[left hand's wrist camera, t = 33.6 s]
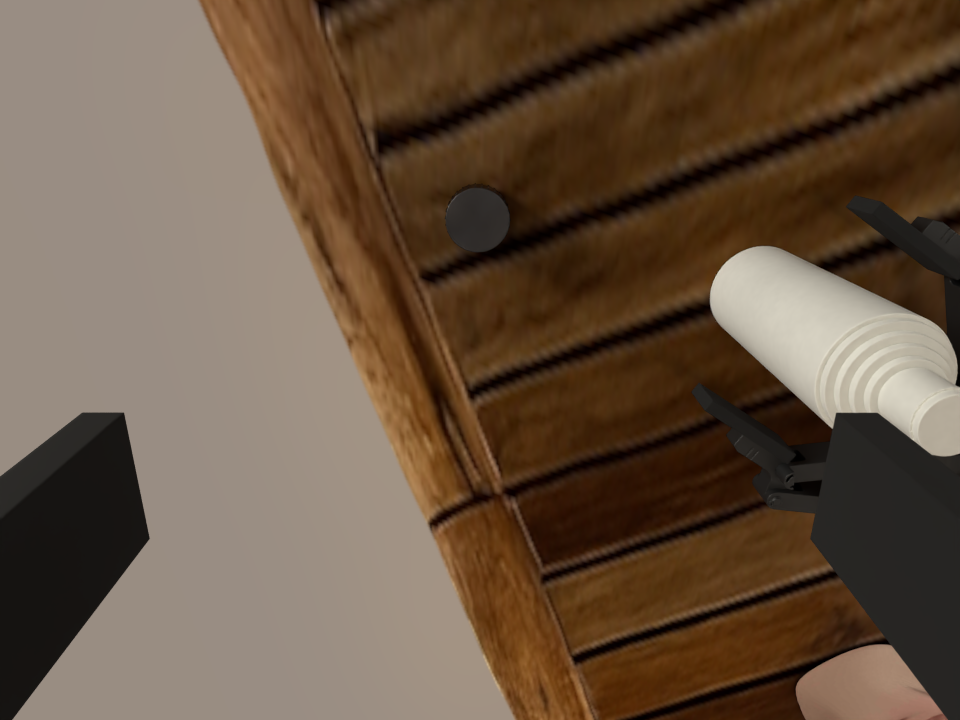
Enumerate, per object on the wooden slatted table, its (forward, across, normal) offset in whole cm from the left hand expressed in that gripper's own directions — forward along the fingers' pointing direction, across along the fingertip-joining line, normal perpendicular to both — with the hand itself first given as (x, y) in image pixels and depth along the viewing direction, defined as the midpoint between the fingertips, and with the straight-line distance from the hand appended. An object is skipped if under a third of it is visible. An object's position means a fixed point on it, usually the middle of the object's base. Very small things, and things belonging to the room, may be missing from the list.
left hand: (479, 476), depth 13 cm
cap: (+31, 0, 0) cm, 31 cm away
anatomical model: (+33, +33, -40) cm, 62 cm away
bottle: (+33, +18, -5) cm, 38 cm away
